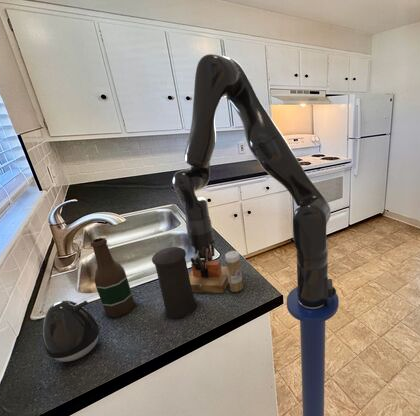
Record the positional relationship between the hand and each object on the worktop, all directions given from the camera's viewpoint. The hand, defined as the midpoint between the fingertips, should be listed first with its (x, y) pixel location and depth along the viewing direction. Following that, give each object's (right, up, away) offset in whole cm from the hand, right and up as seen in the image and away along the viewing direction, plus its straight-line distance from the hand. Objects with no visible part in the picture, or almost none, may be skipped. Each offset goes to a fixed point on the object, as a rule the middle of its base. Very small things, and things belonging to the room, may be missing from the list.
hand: (207, 273), depth 93 cm
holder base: (0, -3, +1) cm, 4 cm away
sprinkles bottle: (+11, -5, -2) cm, 12 cm away
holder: (0, -1, 0) cm, 1 cm away
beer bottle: (-23, -9, -11) cm, 26 cm away
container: (-4, -8, -11) cm, 14 cm away
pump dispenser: (-23, -14, -25) cm, 37 cm away
